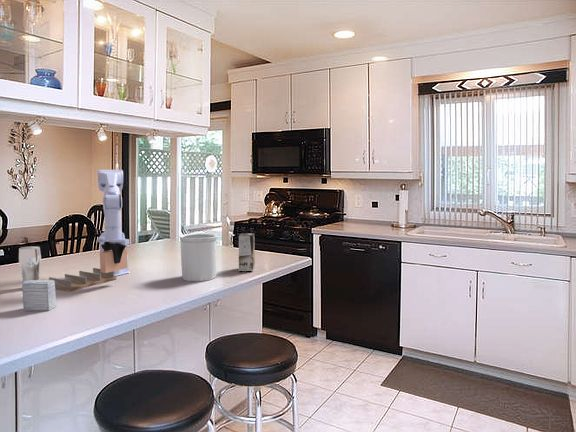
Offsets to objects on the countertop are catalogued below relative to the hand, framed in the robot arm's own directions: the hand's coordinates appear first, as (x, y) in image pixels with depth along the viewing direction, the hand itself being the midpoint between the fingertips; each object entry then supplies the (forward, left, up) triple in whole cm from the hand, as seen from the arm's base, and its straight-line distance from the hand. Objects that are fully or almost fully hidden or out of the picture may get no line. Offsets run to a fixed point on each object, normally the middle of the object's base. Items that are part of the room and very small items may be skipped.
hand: (114, 262), depth 162 cm
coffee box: (-48, +28, -9) cm, 56 cm away
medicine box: (+31, +3, -9) cm, 32 cm away
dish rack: (+3, -14, -9) cm, 17 cm away
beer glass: (+17, -24, -9) cm, 31 cm away
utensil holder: (-26, +19, -9) cm, 33 cm away
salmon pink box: (0, 0, -3) cm, 3 cm away
